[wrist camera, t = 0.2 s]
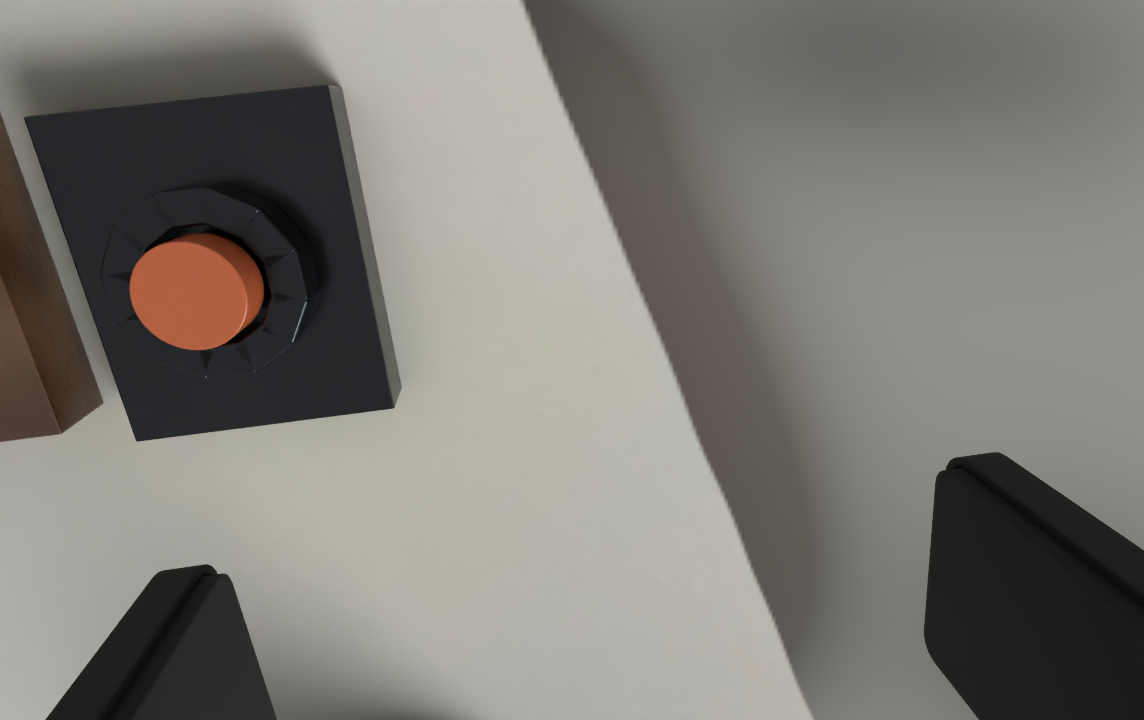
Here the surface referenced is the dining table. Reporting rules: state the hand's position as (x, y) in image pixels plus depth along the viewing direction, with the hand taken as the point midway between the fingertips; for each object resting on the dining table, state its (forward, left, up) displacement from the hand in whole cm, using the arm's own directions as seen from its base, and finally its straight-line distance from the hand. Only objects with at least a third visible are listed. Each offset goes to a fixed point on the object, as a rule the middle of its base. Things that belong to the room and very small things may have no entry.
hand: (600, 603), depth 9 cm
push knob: (-2, -11, -17) cm, 21 cm away
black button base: (-2, -11, -21) cm, 24 cm away
